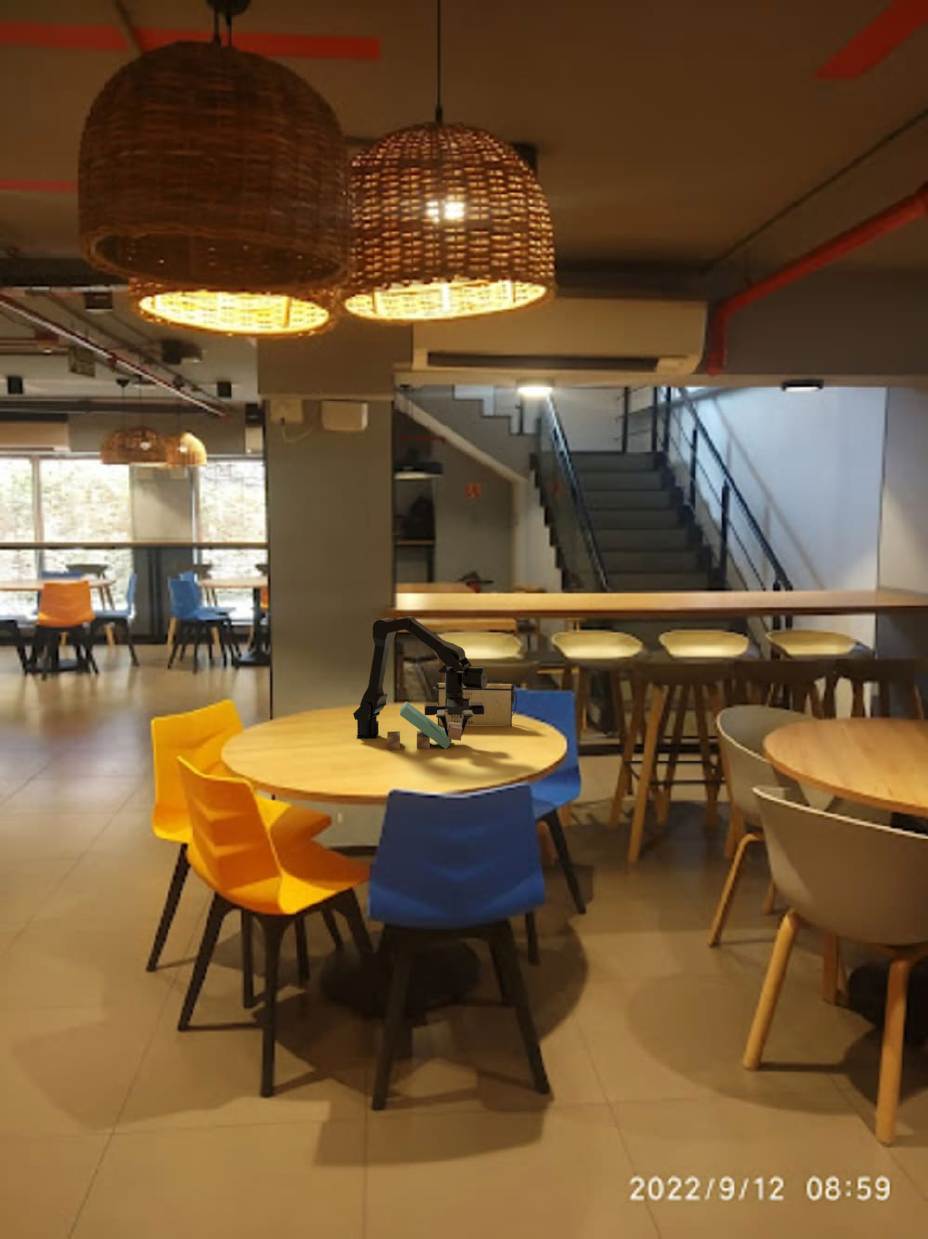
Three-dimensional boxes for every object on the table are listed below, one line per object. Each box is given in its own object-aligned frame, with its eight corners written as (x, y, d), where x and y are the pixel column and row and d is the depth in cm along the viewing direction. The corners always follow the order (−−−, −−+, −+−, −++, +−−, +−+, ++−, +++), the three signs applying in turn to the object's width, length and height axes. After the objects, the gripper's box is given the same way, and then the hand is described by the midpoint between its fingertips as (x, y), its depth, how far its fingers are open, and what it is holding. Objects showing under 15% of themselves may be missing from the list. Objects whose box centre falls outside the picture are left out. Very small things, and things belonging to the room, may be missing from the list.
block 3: (447, 732, 286) (448, 721, 285) (459, 734, 286) (460, 723, 286) (448, 739, 278) (449, 727, 277) (460, 740, 278) (462, 729, 278)
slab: (400, 715, 276) (406, 707, 276) (400, 708, 285) (406, 701, 285) (445, 749, 279) (451, 741, 278) (444, 741, 287) (450, 734, 287)
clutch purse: (517, 722, 313) (517, 680, 311) (516, 727, 306) (517, 684, 304) (432, 721, 314) (432, 679, 313) (430, 726, 308) (430, 683, 306)
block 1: (387, 750, 277) (387, 738, 277) (387, 743, 285) (387, 731, 285) (400, 750, 277) (399, 737, 277) (400, 743, 285) (400, 731, 285)
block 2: (416, 749, 278) (416, 737, 278) (416, 743, 286) (416, 730, 285) (429, 749, 278) (429, 737, 278) (429, 742, 286) (429, 730, 286)
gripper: (424, 692, 271) (425, 742, 274) (485, 691, 273) (485, 741, 275) (424, 685, 282) (424, 733, 285) (482, 684, 284) (482, 732, 286)
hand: (454, 735), depth 282 cm, fingers closed on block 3, 4 cm apart
